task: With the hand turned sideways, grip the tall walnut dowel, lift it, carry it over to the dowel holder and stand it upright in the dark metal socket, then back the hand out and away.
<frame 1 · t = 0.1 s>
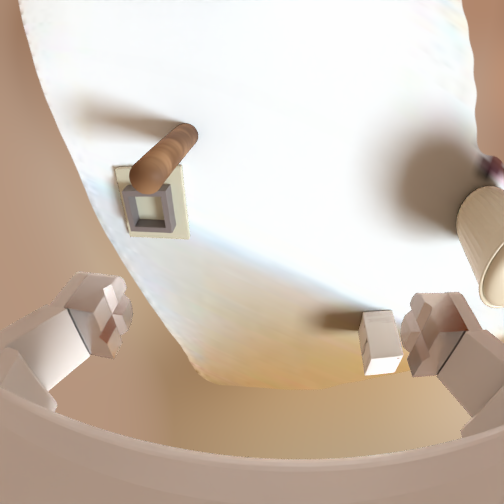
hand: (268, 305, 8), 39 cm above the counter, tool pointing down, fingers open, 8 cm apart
supplement box: (374, 320, 66), on the counter
walnut dowel: (185, 135, 44), on the counter
dowel holder: (154, 202, 51), on the counter
canister: (479, 211, 46), on the counter
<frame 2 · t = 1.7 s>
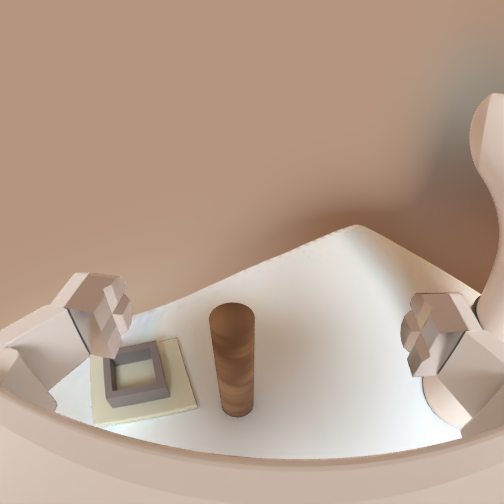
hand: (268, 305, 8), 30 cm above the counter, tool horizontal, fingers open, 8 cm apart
walnut dowel: (237, 403, 35), on the counter
dowel holder: (138, 383, 37), on the counter
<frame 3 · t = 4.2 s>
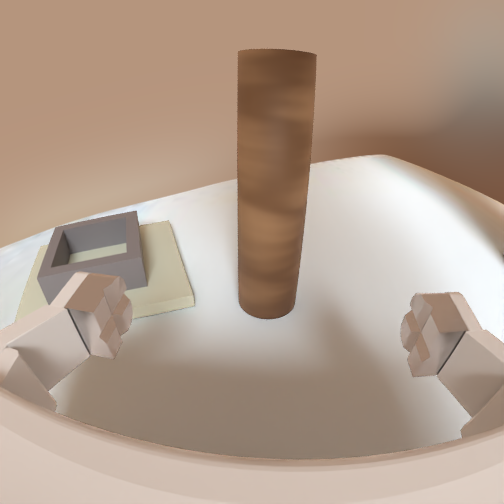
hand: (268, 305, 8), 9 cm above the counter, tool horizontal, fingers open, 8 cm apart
walnut dowel: (266, 299, 22), on the counter
dowel holder: (101, 275, 23), on the counter
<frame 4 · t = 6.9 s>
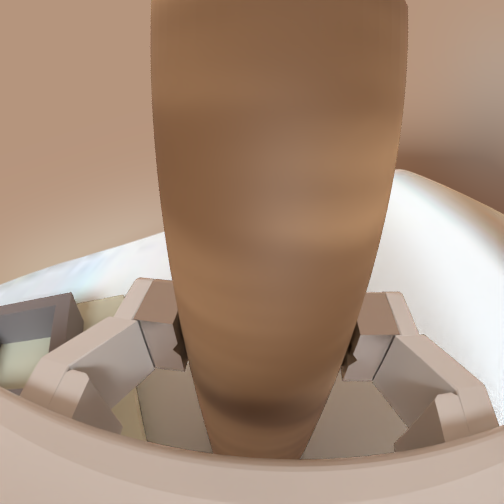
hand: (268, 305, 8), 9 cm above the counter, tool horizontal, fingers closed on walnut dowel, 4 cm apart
walnut dowel: (257, 452, 12), on the counter, touching gripper
dowel holder: (35, 383, 14), on the counter
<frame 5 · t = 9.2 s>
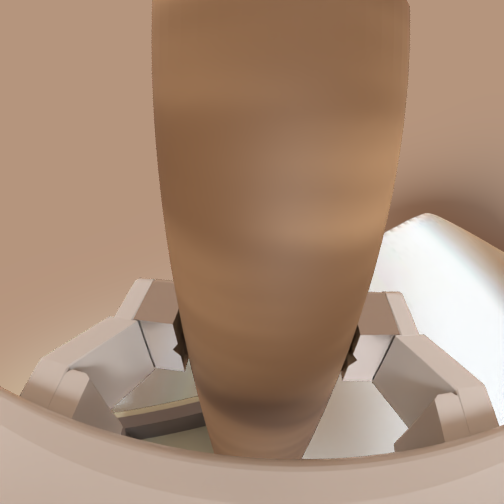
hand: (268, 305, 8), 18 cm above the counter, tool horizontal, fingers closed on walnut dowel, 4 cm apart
walnut dowel: (257, 453, 12), point 9 cm above the counter, touching gripper
dowel holder: (182, 469, 18), on the counter
when the fingers open (11 cm above the counter, at t = 11.7 s): walnut dowel drops 1 cm, resting on dowel holder.
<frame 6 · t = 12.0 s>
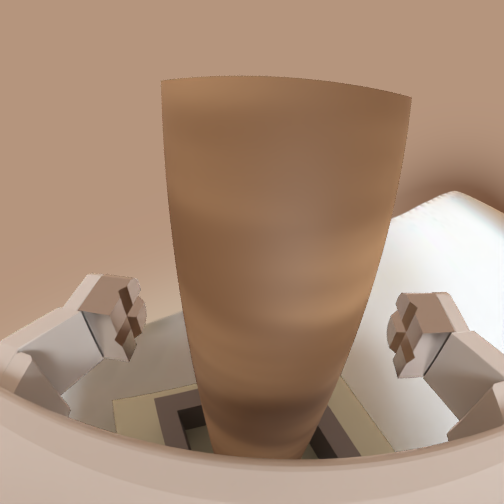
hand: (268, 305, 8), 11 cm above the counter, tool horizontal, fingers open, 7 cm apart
walnut dowel: (256, 461, 13), point 1 cm above the counter, touching dowel holder
dowel holder: (255, 465, 13), on the counter
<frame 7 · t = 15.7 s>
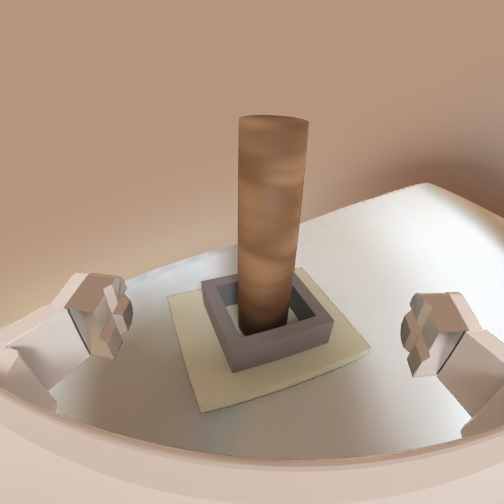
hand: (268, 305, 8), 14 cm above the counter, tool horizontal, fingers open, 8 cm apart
walnut dowel: (262, 323, 25), point 1 cm above the counter, touching dowel holder
dowel holder: (262, 331, 25), on the counter
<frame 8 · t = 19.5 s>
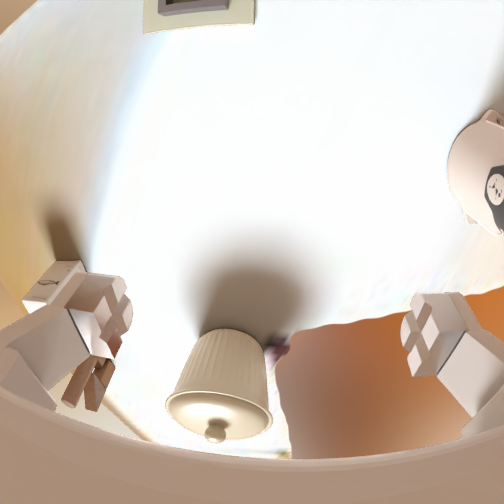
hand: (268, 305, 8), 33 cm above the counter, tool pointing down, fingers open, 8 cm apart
supplement box: (75, 274, 53), on the counter
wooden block: (102, 353, 67), on the counter
canister: (230, 345, 59), on the counter
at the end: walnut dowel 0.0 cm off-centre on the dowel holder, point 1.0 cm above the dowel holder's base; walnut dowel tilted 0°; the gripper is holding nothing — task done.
